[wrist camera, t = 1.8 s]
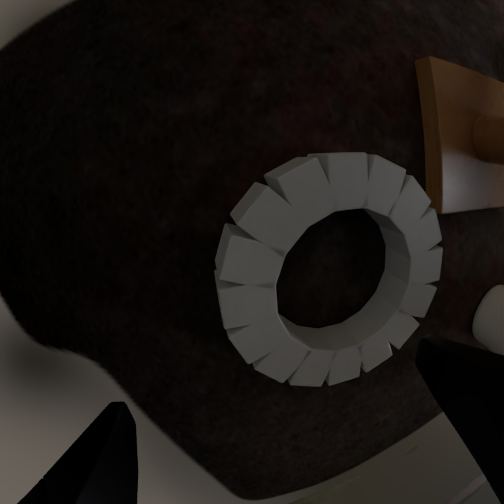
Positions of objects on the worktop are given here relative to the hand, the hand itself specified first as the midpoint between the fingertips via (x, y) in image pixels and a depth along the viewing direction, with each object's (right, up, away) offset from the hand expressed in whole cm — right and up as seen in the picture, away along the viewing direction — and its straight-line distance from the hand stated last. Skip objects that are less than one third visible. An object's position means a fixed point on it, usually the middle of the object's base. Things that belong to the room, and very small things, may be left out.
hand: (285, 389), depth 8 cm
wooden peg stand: (+13, +11, +7) cm, 19 cm away
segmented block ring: (+3, +3, +8) cm, 9 cm away
